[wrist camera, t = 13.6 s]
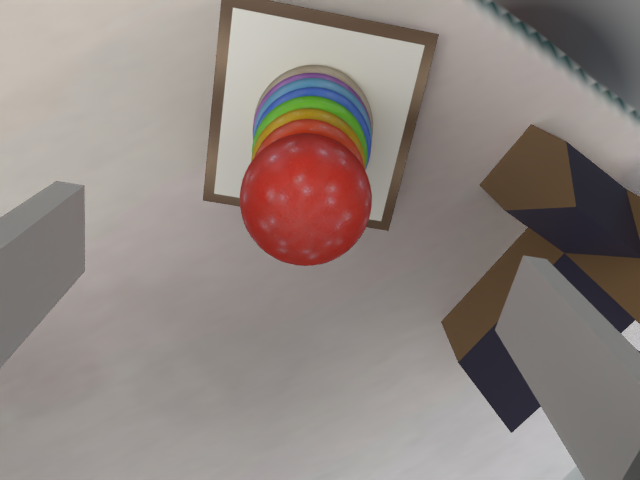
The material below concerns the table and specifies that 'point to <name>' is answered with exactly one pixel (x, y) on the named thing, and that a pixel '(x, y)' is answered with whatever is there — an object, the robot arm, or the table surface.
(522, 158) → the toy building blocks
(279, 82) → the stacking toy
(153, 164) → the table surface
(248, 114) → the base block
